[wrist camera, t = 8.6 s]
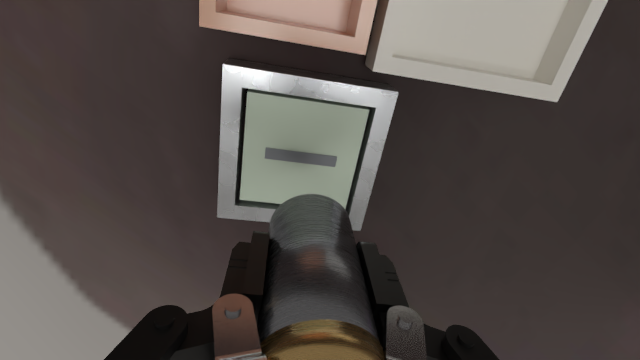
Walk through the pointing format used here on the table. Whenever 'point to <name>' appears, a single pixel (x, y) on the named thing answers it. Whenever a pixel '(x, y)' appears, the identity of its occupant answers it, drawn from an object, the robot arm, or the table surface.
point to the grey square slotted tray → (306, 85)
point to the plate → (299, 147)
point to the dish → (295, 21)
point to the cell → (315, 286)
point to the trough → (484, 42)
